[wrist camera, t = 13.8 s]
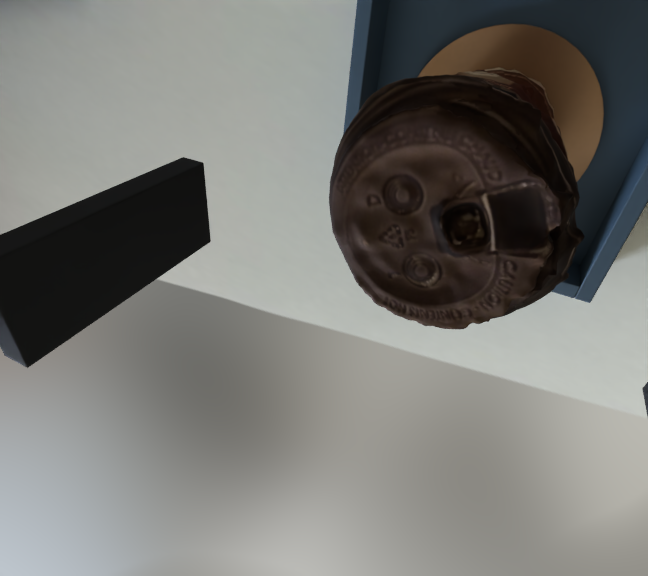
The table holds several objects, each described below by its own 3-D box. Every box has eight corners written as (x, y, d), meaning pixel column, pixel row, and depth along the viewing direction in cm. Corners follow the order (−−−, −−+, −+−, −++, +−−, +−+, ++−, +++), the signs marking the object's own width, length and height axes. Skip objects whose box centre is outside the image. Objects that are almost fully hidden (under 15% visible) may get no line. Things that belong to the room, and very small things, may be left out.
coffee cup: (630, 90, 19) (683, 185, 10) (522, 236, 25) (488, 390, 15) (455, 15, 21) (349, 33, 11) (389, 168, 26) (280, 269, 17)
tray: (354, 206, 30) (333, 225, 28) (419, -285, 17) (391, -335, 15) (588, 272, 25) (590, 303, 23) (915, -334, 13) (1003, -419, 10)
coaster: (388, 196, 28) (387, 198, 27) (421, 11, 22) (420, 11, 21) (554, 240, 24) (554, 242, 24) (646, 39, 18) (647, 39, 18)
